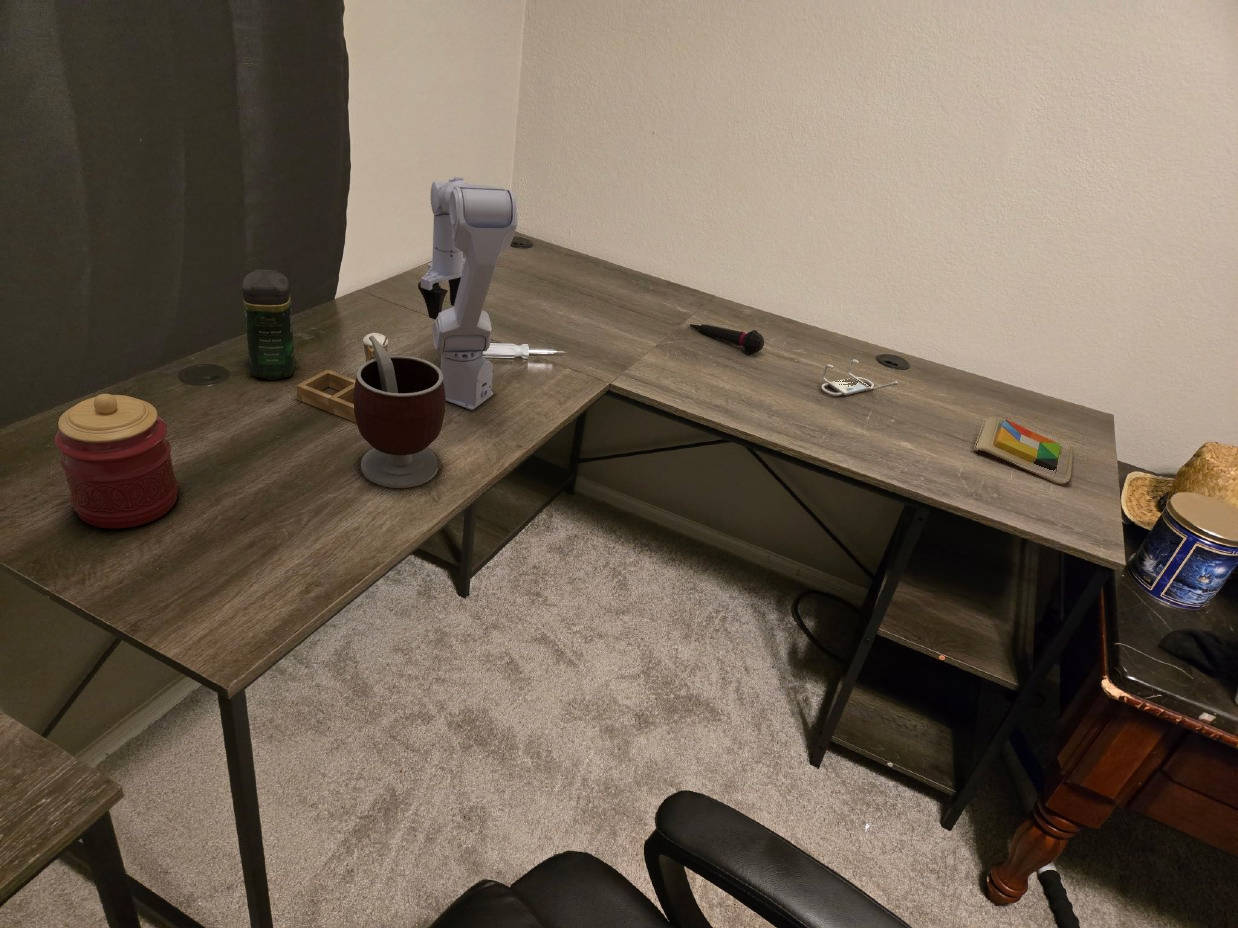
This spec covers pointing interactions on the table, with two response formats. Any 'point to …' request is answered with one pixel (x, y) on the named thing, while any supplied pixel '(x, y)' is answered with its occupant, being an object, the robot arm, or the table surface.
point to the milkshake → (369, 347)
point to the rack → (333, 404)
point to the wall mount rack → (851, 389)
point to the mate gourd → (399, 417)
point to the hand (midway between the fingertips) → (445, 312)
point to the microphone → (734, 337)
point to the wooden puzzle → (1021, 446)
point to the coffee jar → (268, 324)
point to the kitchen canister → (116, 461)
